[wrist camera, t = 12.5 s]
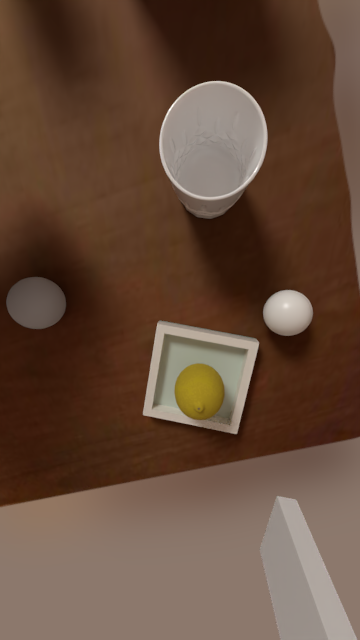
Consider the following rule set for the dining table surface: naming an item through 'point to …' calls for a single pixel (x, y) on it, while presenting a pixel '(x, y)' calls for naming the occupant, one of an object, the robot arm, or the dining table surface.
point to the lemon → (199, 391)
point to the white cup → (212, 146)
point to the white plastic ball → (287, 312)
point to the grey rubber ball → (36, 302)
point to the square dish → (205, 348)
